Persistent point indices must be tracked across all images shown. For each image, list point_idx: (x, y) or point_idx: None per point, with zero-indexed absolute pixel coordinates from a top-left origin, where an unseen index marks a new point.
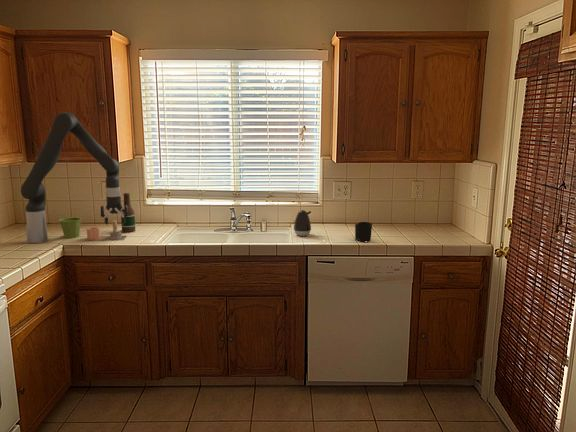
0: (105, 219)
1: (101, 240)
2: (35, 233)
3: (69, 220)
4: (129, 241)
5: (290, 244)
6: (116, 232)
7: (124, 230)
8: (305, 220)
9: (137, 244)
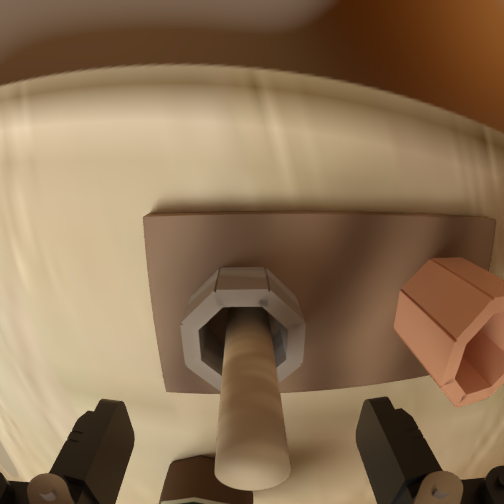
0: (420, 456)
1: (372, 230)
2: None
3: None
4: (101, 236)
5: None
6: (230, 337)
7: None
8: None
9: (22, 125)
